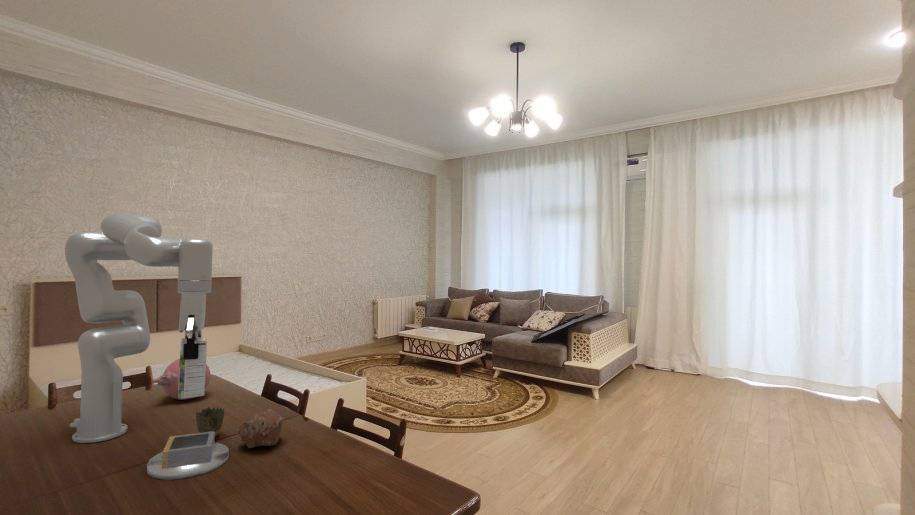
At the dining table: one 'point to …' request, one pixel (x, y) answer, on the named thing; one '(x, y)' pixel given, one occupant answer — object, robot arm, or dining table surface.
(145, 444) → the dining table surface
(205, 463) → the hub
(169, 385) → the inflated balloon
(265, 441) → the decorative rock
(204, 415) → the dark green lumpy clump
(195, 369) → the syrup box
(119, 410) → the robot arm
